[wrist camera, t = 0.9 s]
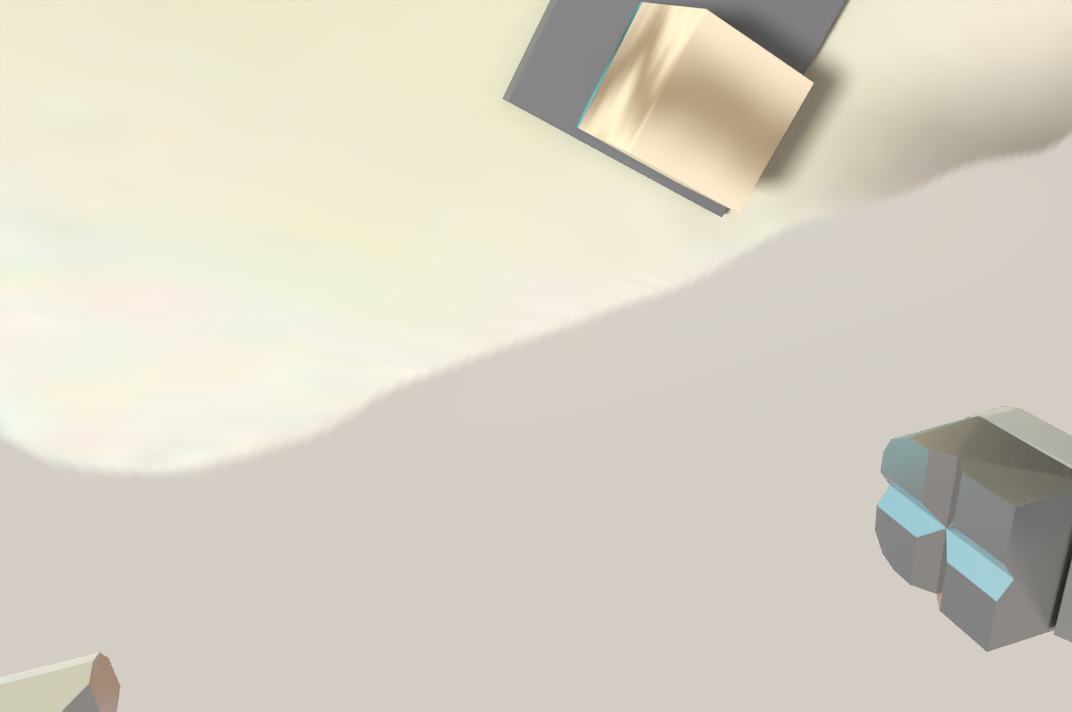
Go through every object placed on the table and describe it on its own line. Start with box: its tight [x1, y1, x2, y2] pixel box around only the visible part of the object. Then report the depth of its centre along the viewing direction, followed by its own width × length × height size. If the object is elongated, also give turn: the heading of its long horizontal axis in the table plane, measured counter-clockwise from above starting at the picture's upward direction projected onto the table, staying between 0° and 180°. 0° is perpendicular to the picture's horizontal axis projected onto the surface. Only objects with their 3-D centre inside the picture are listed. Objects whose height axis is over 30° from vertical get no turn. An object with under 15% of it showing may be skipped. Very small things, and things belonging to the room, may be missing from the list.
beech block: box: [576, 2, 814, 213], centre depth 43 cm, size 7×7×7 cm
